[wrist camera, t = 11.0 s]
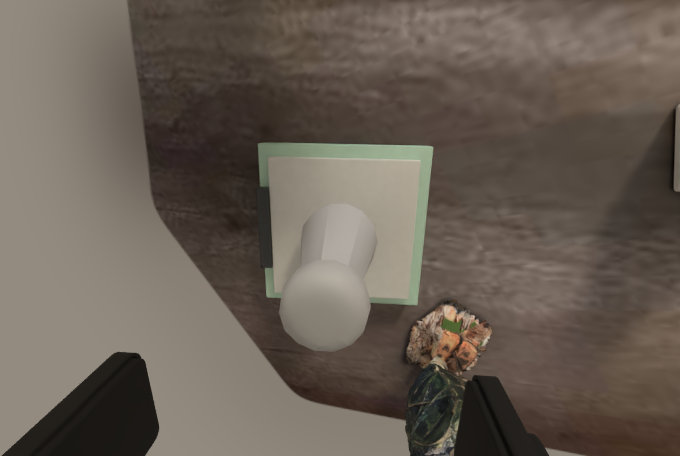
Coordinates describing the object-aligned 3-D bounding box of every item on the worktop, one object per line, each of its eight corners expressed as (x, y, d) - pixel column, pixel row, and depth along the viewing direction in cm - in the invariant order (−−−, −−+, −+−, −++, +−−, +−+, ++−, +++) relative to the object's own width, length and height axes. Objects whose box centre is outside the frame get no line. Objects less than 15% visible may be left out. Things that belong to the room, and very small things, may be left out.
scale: (266, 142, 28) (253, 143, 24) (427, 145, 27) (436, 147, 24) (273, 285, 32) (263, 303, 29) (413, 292, 31) (419, 311, 28)
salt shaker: (307, 262, 27) (261, 372, 15) (304, 197, 26) (249, 260, 13) (375, 263, 27) (386, 377, 14) (376, 197, 25) (389, 261, 13)
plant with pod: (370, 352, 33) (379, 648, 14) (455, 286, 30) (609, 547, 11) (422, 398, 35) (493, 727, 16) (508, 339, 32) (727, 653, 13)
